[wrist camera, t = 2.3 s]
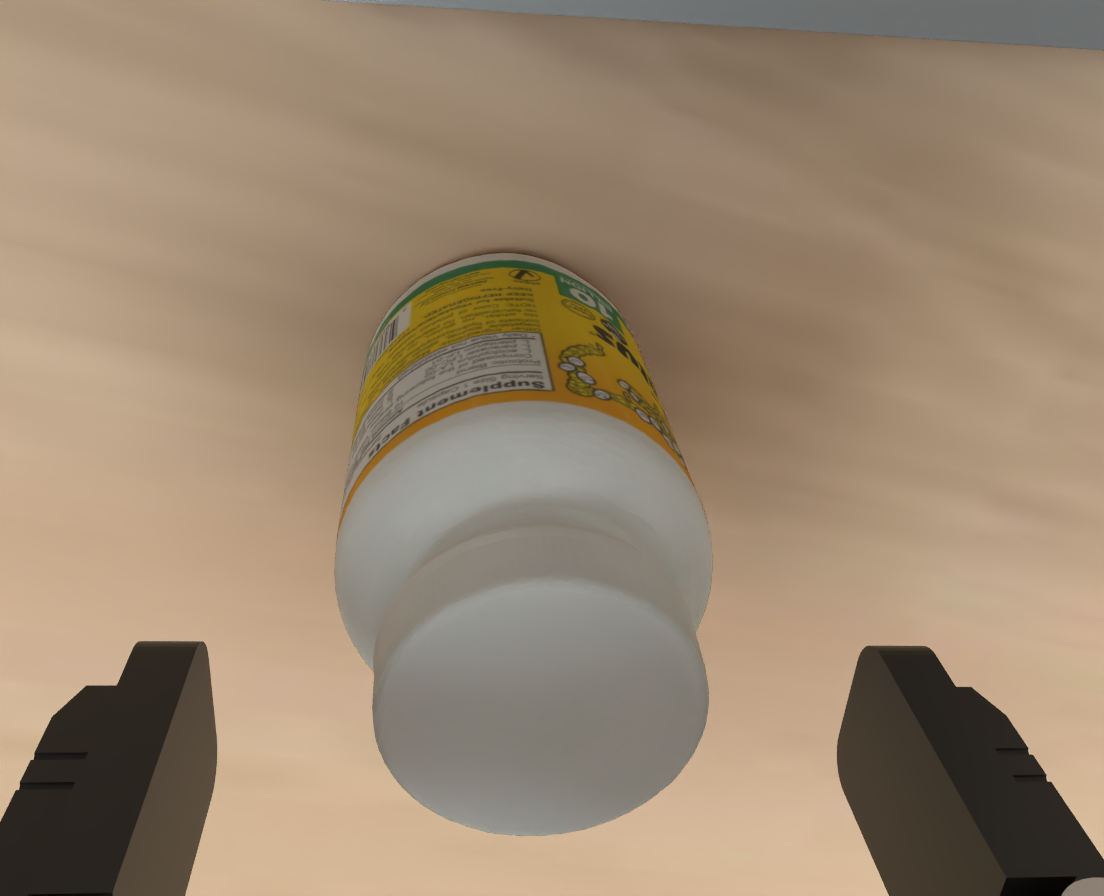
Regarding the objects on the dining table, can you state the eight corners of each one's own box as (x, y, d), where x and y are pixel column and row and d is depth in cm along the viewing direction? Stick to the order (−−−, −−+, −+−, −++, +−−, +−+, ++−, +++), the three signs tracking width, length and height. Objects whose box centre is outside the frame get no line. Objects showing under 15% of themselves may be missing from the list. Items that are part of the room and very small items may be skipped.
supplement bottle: (323, 295, 20) (228, 605, 11) (599, 209, 19) (716, 462, 11) (421, 526, 22) (404, 920, 14) (666, 453, 22) (803, 812, 13)
